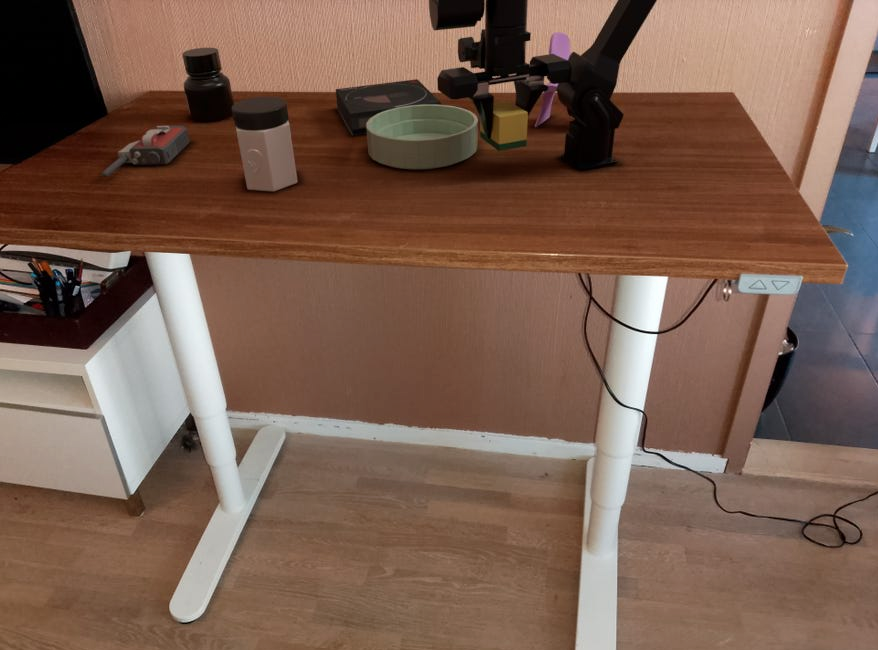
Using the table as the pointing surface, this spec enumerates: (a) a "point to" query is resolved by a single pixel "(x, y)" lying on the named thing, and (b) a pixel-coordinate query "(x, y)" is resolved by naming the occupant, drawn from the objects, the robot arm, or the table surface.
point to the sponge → (507, 126)
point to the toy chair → (561, 49)
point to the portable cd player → (379, 101)
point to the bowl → (422, 136)
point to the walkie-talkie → (152, 148)
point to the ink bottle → (206, 85)
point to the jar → (265, 143)
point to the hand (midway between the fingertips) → (502, 135)
